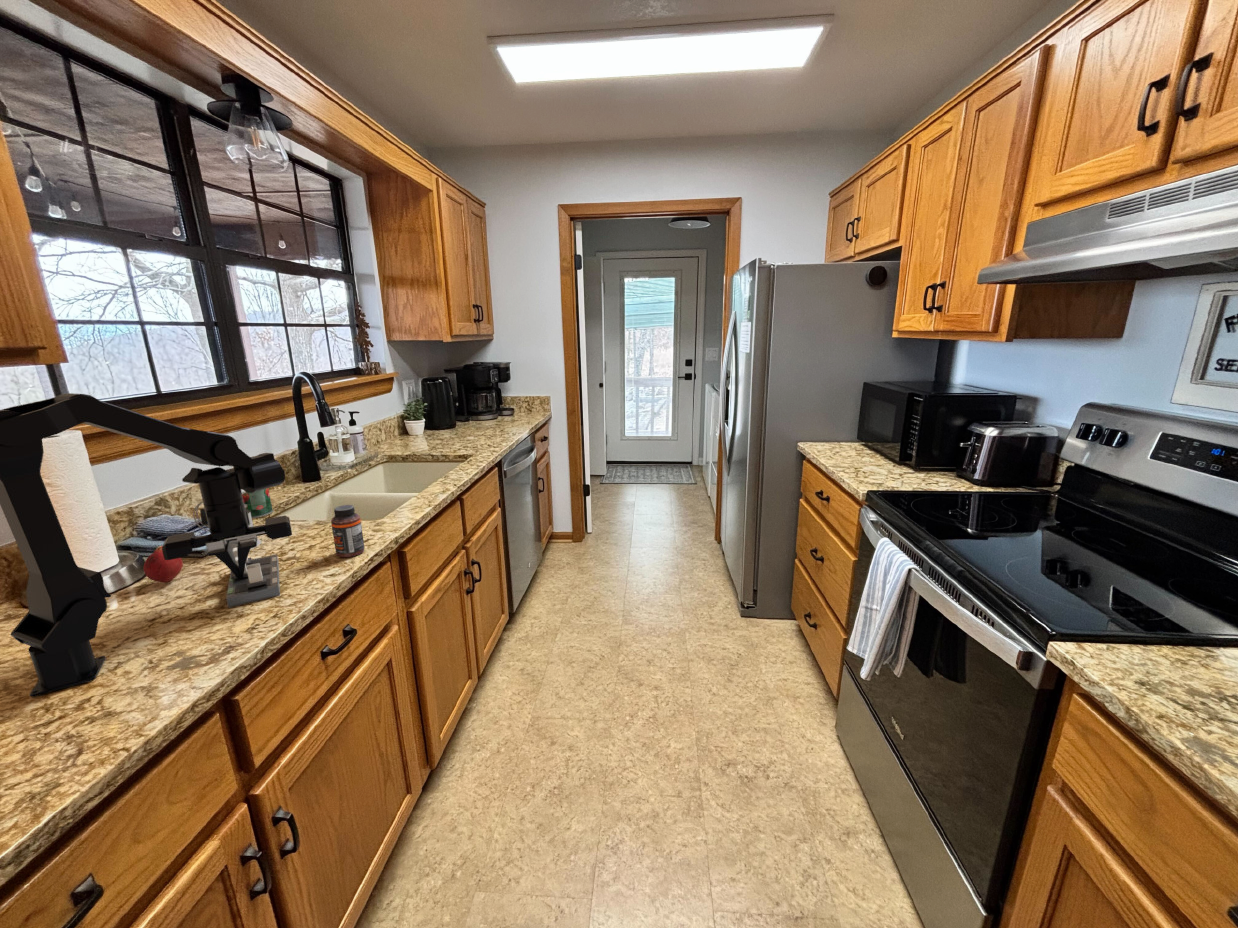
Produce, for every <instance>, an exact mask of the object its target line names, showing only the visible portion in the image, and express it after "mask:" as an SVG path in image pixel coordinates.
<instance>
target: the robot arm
mask: <svg viewBox="0 0 1238 928" xmlns="http://www.w3.org/2000/svg"><path fill="white" fill-rule="evenodd" d="M80 424H84V425H87V426H91V427H94V428H98V429H101V430H105V431H109V432H111V433H115V434H119V435H122V436H125V437H129V438H133V439H136V440H139V441H143V442H146V443H148V444H149V443H150V444H152V445H157V446H160V447H161V448H162V447H163V448H165V449H167V450H168V451H169V452H172V453H173V454H174V455H177V456H179V457H181V458H183V459H185V460H187V461H189V462H192V463H193V464H200V465H206V466H207V465H209V466H215V467H211V468H207V469H204V470H203V469H202V468H198V467H192V468H190V471H189V472H188V473H187V474H186V475H185V476H184V477H183V478H181V481H182V482H183V483H188V484H194V485H196V484H197V485H198V488H199V491H200V494H201V500H202V501H203V503H202V504H203V507H204V508H199V509H200V511H199V513H200V521H201V522H202V524H201V525H202V526H204V525H206V526H209V528H208V530H210V531H209V534H205V535H199V536H196V534H195V532H194V531H189V532H185V533H179V534H177V533H176V534H173V535H169V536H168V537H167V538H165V540H164V541H163V544H162V545H161V546H162V552H163V556H164V559H165V560H172V559H177V558H181V559H182V558H186V557H189V555H191V553H192V552H193V549H195V548H201V547H205V548H206V549H207V556H208V557H213V556H214V557H216V558H217V559H219V561H220V562H222V563H223V564H224V565H226V567H227V568H228V569H229V570H230V572H231V571H232V572H233V574H234V575H235V576H236V577H237V578H238V579H240V578H243V575H244V569H245V564H246V559H247V557H248V558H249V553H250V551H251V550H252V549H251V548H253V549H255V548H257V547H258V546H257V539H258V537H260V536H263V535H266V537H267V538H268V539H271V540H277V539H278V540H279V539H282V538H288V537H291V536H292V535H293V531H292V525H291V520H290V517H289V516H287V515H280V516H275V517H268V518H265V519H264V522H265V523H264V524H258V525H253V527H249V525H250V521H249V517H248V512H247V511H246V509H245V506H244V501H243V497H242V492H241V489H242V490H244V491H246V492H248V493H253V492H256V491H260V490H263V489H267V488H268V489H270V488H273V487H278V486H281V485H282V484H283V483H284V482H285V480H286V472H285V469H284V468H283V467H282V466H283V465H281V463H280V461H278V460H276V459H275V454H274V453H272V452H262V453H259V454H257V455H255V456H250V455H248V454H247V453H245V452H244V451H243V450H242V449H240V448H239V445H238V442H237V440H236V439H235V438H234V437H233V436H231V435H229V434H225V433H220V432H213V431H206V430H200V429H194V428H189V427H188V428H187V427H183V426H179V425H176V424H174V423H173V424H172V423H169V422H166V421H163V420H161V419H158V418H154V417H151V416H148V415H146V414H142V413H140V412H136V411H134V410H130V409H127V408H125V407H121V406H118V405H115V404H112V403H108V402H105V401H103V400H100V399H98V398H96V397H94V396H92V395H89V394H85V393H72V392H71V393H70V392H69V393H62V394H59V395H56V396H54V397H51V398H47V399H43V400H38V401H34V402H28V403H23V404H20V405H19V404H18V405H14V406H9V407H6V408H2V409H0V507H1V510H2V512H3V514H4V517H5V519H6V522H7V523H8V526H9V528H10V531H11V533H12V535H13V538H14V540H15V542H16V545H17V547H18V550H19V552H20V554H21V557H22V559H23V561H24V563H25V566H26V569H27V570H28V575H29V576H28V580H27V587H26V591H25V593H26V598H27V599H26V600H27V608H28V611H27V613H26V614H25V615H24V616H23V618H22V619H21V620H20V621H19V622H18V624H17V625H16V626H15V627H14V628H13V630H12V631H11V632H10V636H11V637H12V638H13V639H15V641H17V642H19V643H20V644H23V645H27V646H29V647H28V653H29V656H30V658H31V661H32V664H33V667H34V670H35V672H36V673H35V674H36V676H37V678H38V679H37V680H38V681H37V683H36V684H35V685H34V687H33V688H32V689H31V691H30V693H29V696H30V697H31V698H34V697H38V696H41V695H42V696H43V695H45V694H48V693H49V694H50V693H52V692H53V693H54V692H56V691H60V690H63V689H67V688H70V687H74V686H77V685H82V684H86V683H89V682H92V681H94V680H96V679H97V676H98V675H99V673H100V671H101V669H102V667H103V665H104V663H105V661H106V659H107V657H106V656H105V655H100V656H97V657H95V653H94V651H93V647H92V644H91V641H90V640H93V639H95V637H96V635H97V631H98V625H99V620H100V619H101V617H102V616H103V615H104V614H105V612H106V611H107V610H108V603H107V599H106V598H111V597H112V595H111V594H110V593H109V592H107V590H106V588H105V586H104V585H105V584H104V579H103V575H102V573H101V572H100V571H99V572H98V571H96V570H93V569H92V570H91V569H88V568H84V567H81V566H78V565H77V564H76V561H75V559H74V556H73V553H72V551H71V548H70V545H69V542H68V541H67V538H66V535H65V533H64V531H63V528H62V526H61V525H62V524H61V523H60V521H59V518H58V515H57V513H56V510H55V508H54V504H53V503H52V499H51V497H50V495H49V493H48V490H47V487H46V484H45V482H44V480H43V477H42V475H41V468H42V463H43V459H44V453H45V452H44V445H43V440H44V439H47V438H49V437H52V436H55V435H58V434H60V433H63V432H66V431H67V430H69V429H72V428H73V427H74V428H75V427H76V426H78V425H80ZM219 466H220V467H221V468H220V467H219ZM225 466H227V467H231V468H229V469H224V468H223V467H225ZM233 540H238V547H237V552H238V564H237V562H236V559H235V557H234V554H233V551H232V548H231V545H230V541H233ZM256 546H257V547H256ZM254 547H255V548H254Z"/></svg>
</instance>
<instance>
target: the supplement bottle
mask: <svg viewBox="0 0 1238 928" xmlns="http://www.w3.org/2000/svg"><path fill="white" fill-rule="evenodd" d="M333 511H334V512H333V514H334V516H333V517H332V518H331V523H330V524H331V530H332V536H333V543H334V549H335V554H336V556H337V557H339V558H343V559H344V558H345V557H347V558H352V557H357V556H359V555H361V554H363V552H364V551H365V539H364V533H363V527H362V521H361V520H362V519H361V517H360V514H358V513H356V512H355V506H354V505H353V504H343V505H339V506H336V507H334V508H333ZM356 555H357V556H356Z"/></svg>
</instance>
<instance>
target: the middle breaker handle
mask: <svg viewBox="0 0 1238 928" xmlns="http://www.w3.org/2000/svg"><path fill="white" fill-rule="evenodd" d="M235 559H236V562H237V564H238V557H235ZM247 576H248V573H247V567H246V564H245V569H244V575H243V577H247ZM234 579H238V578H237V577H236V576H235V575H234V574H233V572H232V574H231V580H234Z"/></svg>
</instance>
